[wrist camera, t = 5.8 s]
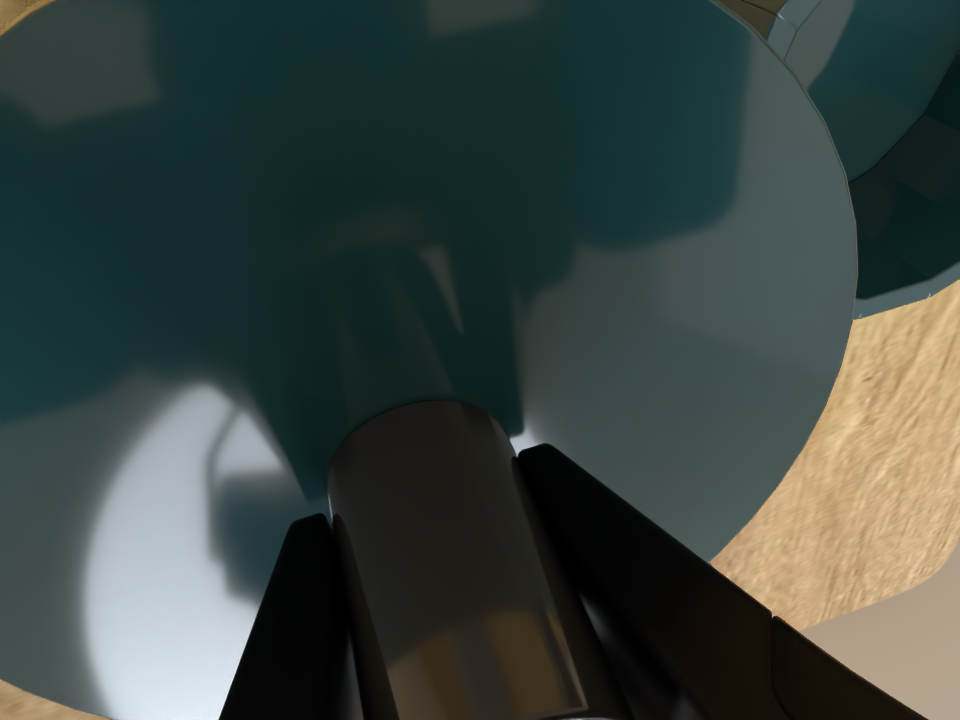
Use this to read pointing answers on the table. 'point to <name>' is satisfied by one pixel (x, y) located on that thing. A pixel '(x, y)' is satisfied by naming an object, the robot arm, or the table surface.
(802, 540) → the table surface
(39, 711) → the table surface
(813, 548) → the table surface
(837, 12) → the pot
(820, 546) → the table surface
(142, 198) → the pot lid
